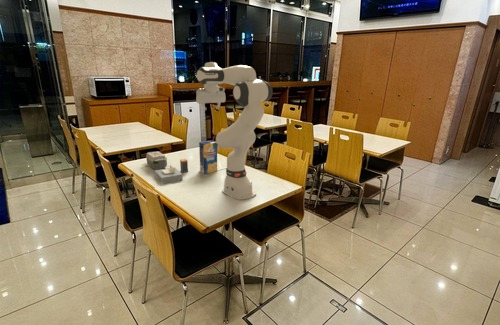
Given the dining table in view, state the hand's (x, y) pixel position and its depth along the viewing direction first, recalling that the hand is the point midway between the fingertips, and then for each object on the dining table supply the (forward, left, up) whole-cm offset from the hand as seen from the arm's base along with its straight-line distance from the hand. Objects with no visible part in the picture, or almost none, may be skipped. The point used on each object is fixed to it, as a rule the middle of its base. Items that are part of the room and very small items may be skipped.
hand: (211, 109), depth 187 cm
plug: (+16, +15, -47) cm, 52 cm away
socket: (+9, +29, -47) cm, 56 cm away
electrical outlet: (+37, +29, -47) cm, 66 cm away
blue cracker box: (+8, -1, -47) cm, 47 cm away
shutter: (+9, +29, -42) cm, 52 cm away
